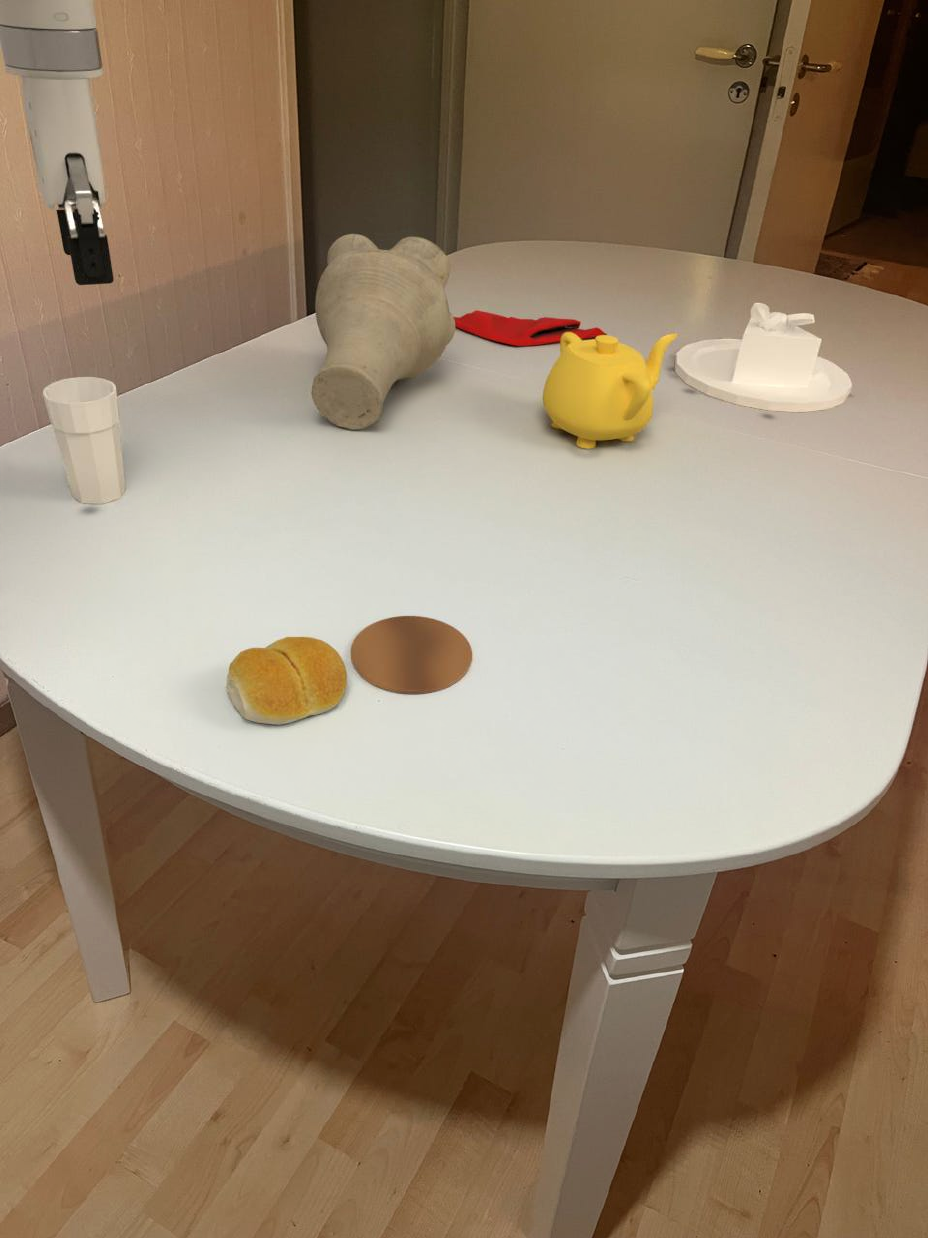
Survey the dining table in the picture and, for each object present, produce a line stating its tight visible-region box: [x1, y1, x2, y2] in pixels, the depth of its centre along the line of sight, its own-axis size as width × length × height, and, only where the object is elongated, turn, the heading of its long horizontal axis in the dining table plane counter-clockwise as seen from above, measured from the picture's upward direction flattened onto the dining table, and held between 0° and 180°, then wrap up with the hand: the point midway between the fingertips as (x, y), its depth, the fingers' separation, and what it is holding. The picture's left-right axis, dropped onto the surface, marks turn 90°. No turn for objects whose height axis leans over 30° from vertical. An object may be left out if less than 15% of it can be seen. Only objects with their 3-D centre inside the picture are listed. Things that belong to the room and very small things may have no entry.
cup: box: [42, 376, 127, 505], centre depth 92 cm, size 7×7×11 cm
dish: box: [674, 302, 853, 413], centre depth 131 cm, size 25×25×11 cm
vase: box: [311, 233, 456, 431], centre depth 113 cm, size 22×22×28 cm
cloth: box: [453, 310, 608, 347], centre depth 143 cm, size 26×14×2 cm, turn 73°
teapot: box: [541, 332, 679, 450], centre depth 112 cm, size 14×14×12 cm
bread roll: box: [225, 636, 348, 725], centre depth 71 cm, size 8×9×4 cm
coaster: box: [350, 615, 473, 695], centre depth 76 cm, size 10×10×1 cm
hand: (88, 267), depth 86 cm, fingers open, 9 cm apart
